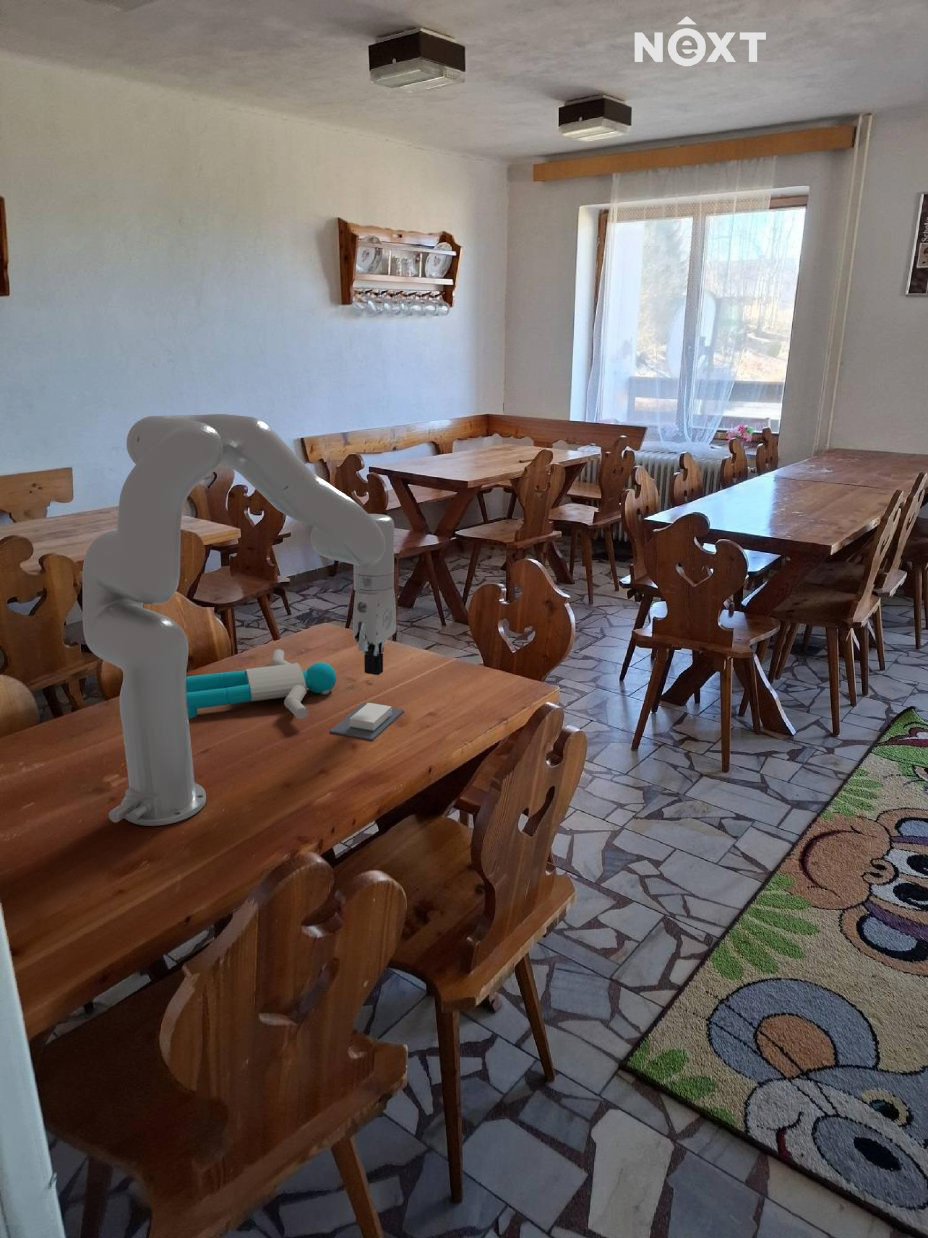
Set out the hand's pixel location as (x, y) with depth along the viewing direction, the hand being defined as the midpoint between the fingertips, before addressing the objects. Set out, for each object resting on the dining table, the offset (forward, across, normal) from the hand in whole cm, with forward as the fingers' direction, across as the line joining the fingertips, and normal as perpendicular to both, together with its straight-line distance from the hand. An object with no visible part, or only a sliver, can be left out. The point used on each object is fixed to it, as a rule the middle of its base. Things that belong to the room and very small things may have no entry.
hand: (373, 672), depth 164 cm
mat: (+9, -3, 0) cm, 9 cm away
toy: (+10, -1, +25) cm, 27 cm away
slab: (+8, 0, -1) cm, 8 cm away
